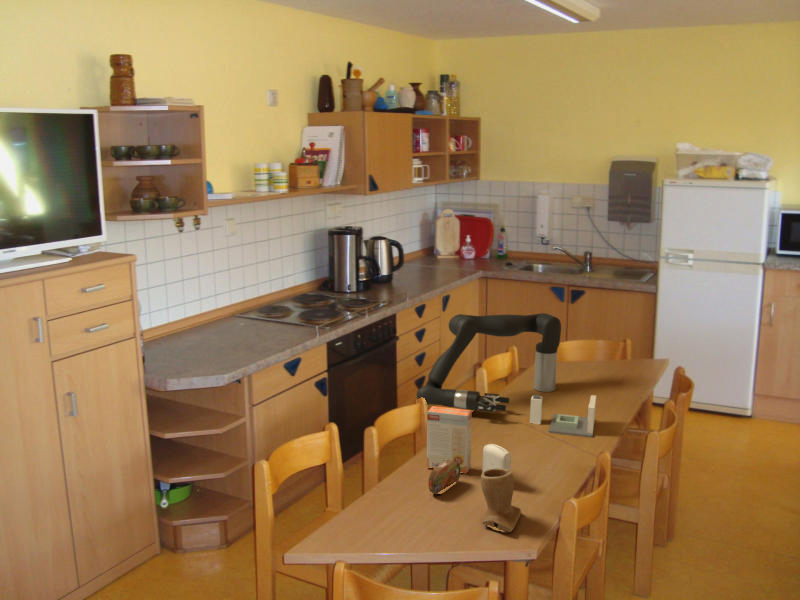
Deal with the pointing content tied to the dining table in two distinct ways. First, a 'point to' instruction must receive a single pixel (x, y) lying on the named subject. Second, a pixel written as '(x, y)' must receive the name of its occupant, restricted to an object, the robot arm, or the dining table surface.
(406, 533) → the dining table surface
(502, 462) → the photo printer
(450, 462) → the tin
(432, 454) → the cracker box
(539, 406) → the block
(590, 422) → the wall outlet
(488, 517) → the stone cup
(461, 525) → the dining table surface
